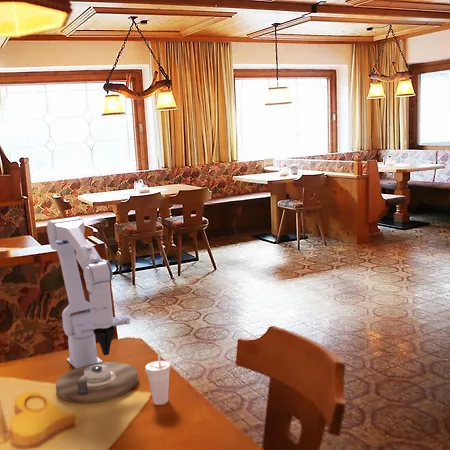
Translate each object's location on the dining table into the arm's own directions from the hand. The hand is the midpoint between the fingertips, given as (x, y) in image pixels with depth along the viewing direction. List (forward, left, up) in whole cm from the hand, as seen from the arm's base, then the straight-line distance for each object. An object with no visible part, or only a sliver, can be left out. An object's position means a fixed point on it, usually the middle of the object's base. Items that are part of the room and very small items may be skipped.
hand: (105, 353), depth 162 cm
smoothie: (+20, +6, -9) cm, 22 cm away
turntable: (0, -3, -8) cm, 9 cm away
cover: (-1, -3, -6) cm, 7 cm away
